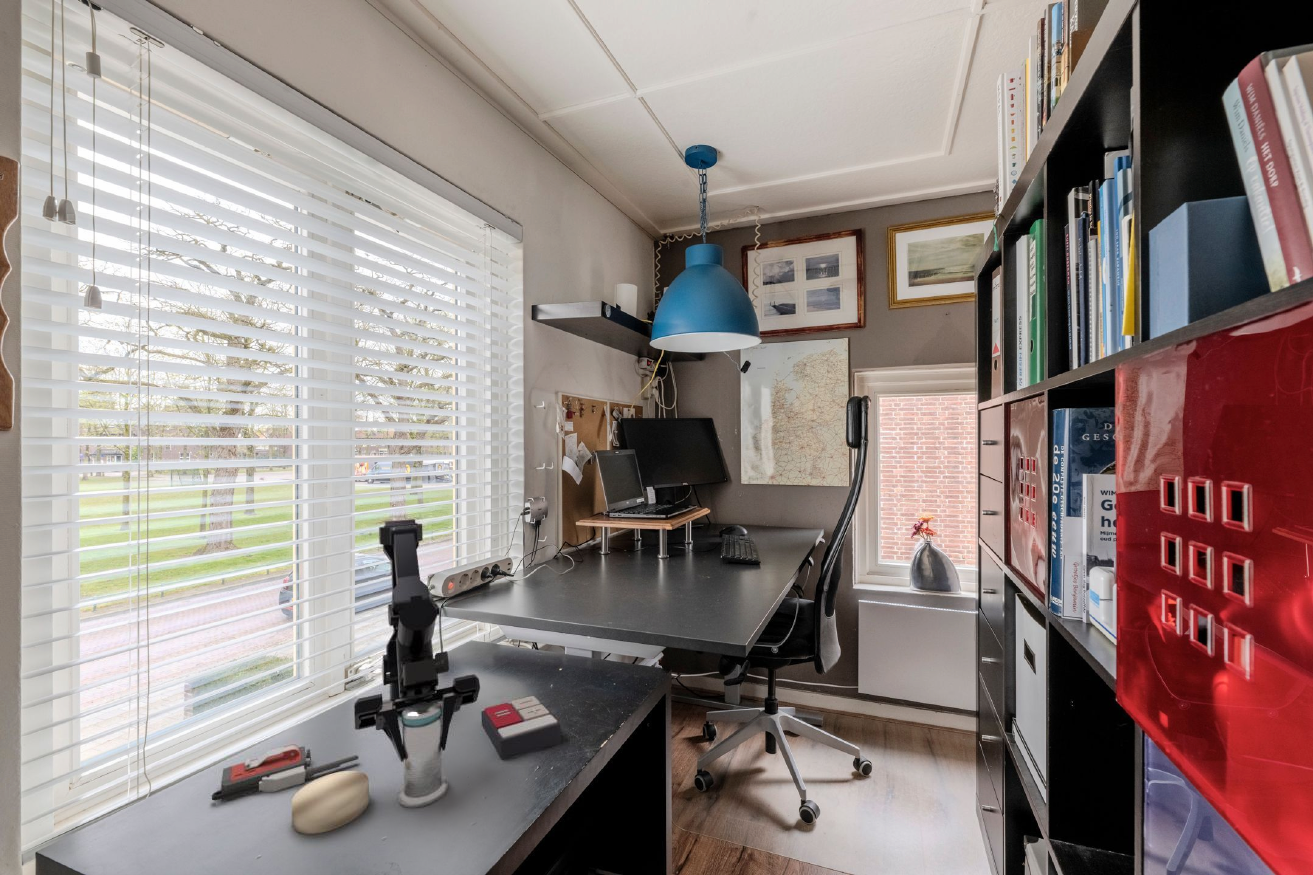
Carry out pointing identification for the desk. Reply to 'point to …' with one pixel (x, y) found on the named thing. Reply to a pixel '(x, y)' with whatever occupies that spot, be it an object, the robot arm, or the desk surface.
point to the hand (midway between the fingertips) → (423, 755)
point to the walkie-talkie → (271, 772)
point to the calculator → (520, 727)
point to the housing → (422, 756)
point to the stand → (330, 802)
